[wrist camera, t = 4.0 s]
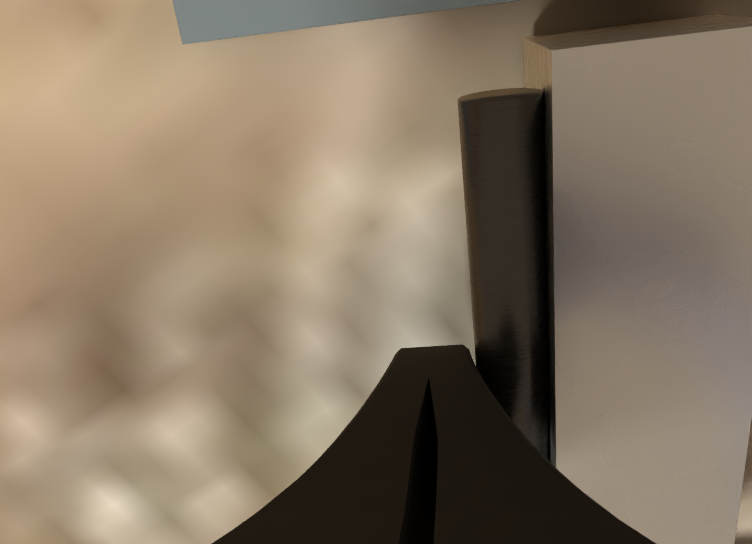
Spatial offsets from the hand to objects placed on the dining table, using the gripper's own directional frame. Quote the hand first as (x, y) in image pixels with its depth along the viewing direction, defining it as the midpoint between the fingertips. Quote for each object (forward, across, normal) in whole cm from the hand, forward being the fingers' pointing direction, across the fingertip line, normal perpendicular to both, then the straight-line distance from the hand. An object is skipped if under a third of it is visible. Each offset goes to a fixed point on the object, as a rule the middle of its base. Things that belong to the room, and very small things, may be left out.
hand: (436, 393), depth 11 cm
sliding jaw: (+2, -3, 0) cm, 3 cm away
